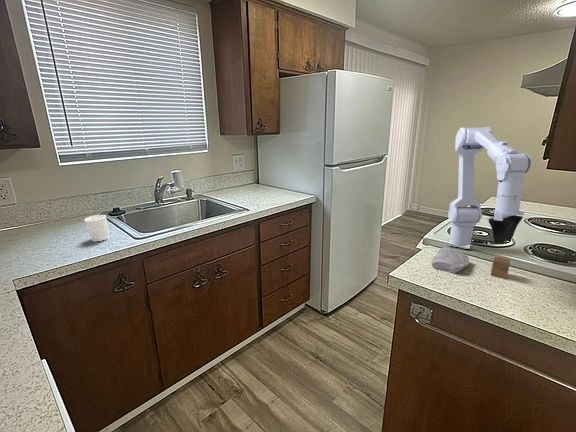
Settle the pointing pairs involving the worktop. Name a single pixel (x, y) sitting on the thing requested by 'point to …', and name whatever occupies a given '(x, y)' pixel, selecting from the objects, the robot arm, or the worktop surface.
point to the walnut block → (500, 267)
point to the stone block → (450, 260)
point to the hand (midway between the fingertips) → (503, 241)
